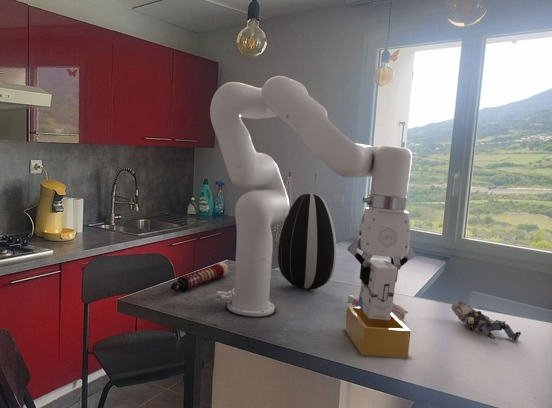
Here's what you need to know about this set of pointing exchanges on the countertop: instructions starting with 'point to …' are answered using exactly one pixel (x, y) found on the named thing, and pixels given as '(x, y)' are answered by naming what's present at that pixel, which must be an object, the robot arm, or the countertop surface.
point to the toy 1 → (396, 311)
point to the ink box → (378, 290)
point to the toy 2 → (481, 321)
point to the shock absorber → (200, 276)
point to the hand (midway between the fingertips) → (377, 283)
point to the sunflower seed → (307, 243)
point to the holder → (377, 334)
